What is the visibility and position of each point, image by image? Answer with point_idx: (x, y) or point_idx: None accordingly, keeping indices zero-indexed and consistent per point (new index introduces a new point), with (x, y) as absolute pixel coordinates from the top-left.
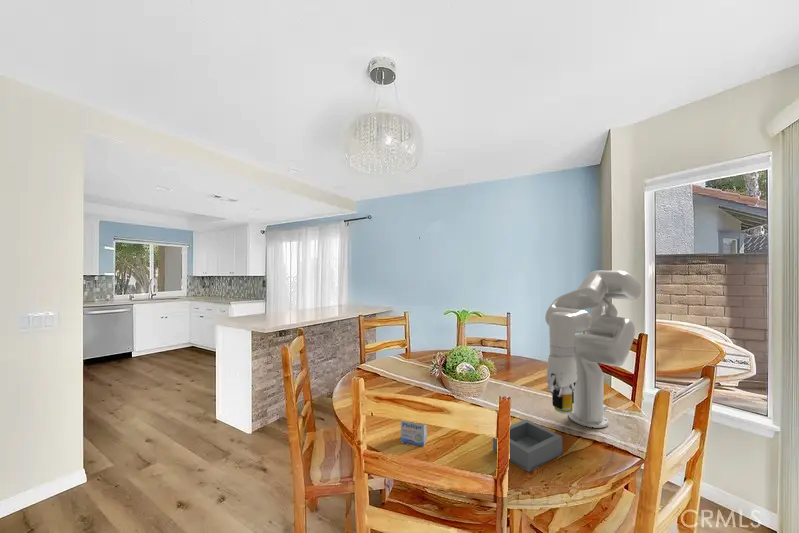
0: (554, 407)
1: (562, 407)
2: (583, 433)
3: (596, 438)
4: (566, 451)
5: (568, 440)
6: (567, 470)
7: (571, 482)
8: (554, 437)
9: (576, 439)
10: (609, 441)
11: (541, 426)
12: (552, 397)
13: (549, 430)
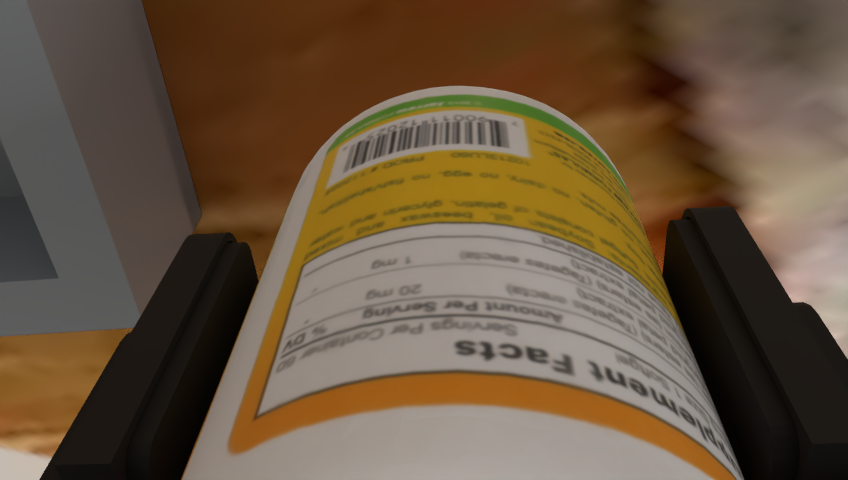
0: (319, 154)
1: None
2: (791, 67)
3: (783, 195)
4: (280, 202)
5: (485, 84)
6: (71, 356)
7: (2, 432)
8: (29, 304)
9: (584, 112)
10: (819, 278)
11: (38, 42)
12: (111, 369)
13: (83, 174)
